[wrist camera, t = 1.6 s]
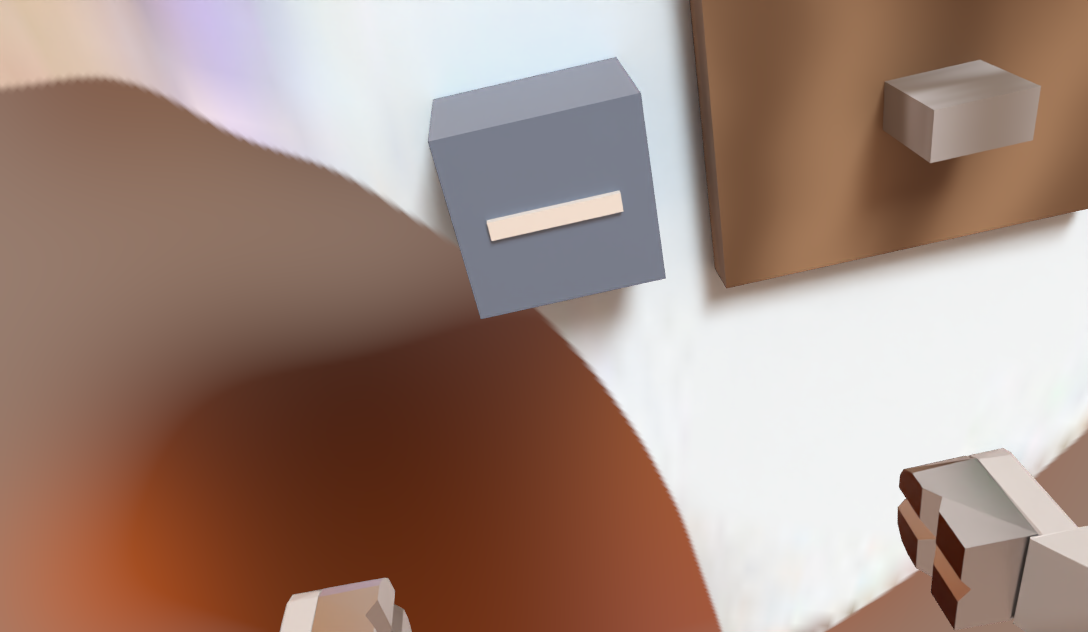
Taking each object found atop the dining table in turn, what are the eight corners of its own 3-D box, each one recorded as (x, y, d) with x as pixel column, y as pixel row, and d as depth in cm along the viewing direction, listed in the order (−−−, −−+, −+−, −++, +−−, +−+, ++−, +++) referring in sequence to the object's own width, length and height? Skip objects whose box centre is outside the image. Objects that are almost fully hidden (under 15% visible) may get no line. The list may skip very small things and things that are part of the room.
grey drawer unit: (478, 260, 28) (480, 322, 24) (433, 99, 25) (427, 144, 21) (640, 224, 28) (667, 281, 24) (615, 57, 24) (641, 94, 21)
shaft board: (715, 268, 29) (753, 334, 25) (682, -83, 22) (726, -66, 19) (1087, 186, 28) (1183, 240, 25) (1162, -197, 22) (1308, -203, 18)
